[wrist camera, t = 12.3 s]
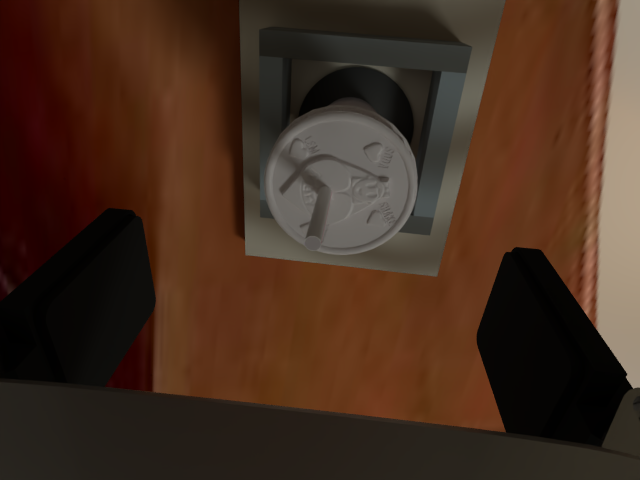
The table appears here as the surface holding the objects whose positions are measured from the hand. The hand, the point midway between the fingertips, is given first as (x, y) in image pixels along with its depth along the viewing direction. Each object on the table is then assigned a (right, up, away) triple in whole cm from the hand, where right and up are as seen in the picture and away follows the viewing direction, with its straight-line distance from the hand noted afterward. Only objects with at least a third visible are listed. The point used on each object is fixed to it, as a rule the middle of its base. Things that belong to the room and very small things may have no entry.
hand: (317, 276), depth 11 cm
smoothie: (+2, +8, +15) cm, 17 cm away
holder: (+2, +8, +16) cm, 18 cm away
